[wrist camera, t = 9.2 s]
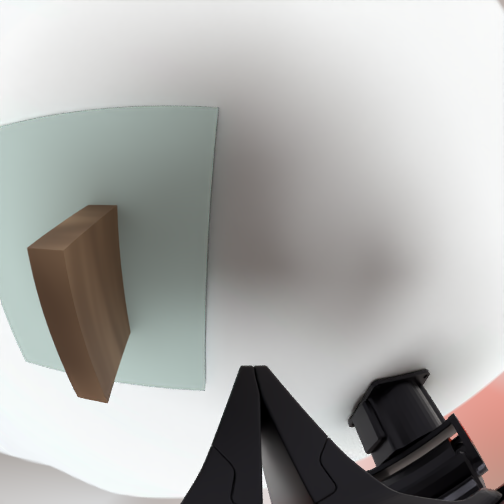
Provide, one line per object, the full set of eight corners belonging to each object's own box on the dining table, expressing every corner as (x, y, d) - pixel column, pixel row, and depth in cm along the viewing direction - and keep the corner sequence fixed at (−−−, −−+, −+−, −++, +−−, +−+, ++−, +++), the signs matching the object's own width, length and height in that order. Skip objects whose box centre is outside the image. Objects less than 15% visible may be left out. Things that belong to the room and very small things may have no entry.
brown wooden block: (117, 205, 11) (63, 250, 7) (130, 332, 14) (107, 403, 9) (86, 204, 11) (24, 247, 6) (104, 328, 14) (76, 396, 9)
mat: (218, 108, 11) (218, 107, 10) (205, 383, 17) (205, 390, 16) (-18, 132, 9) (-24, 133, 8) (28, 356, 15) (25, 361, 14)
